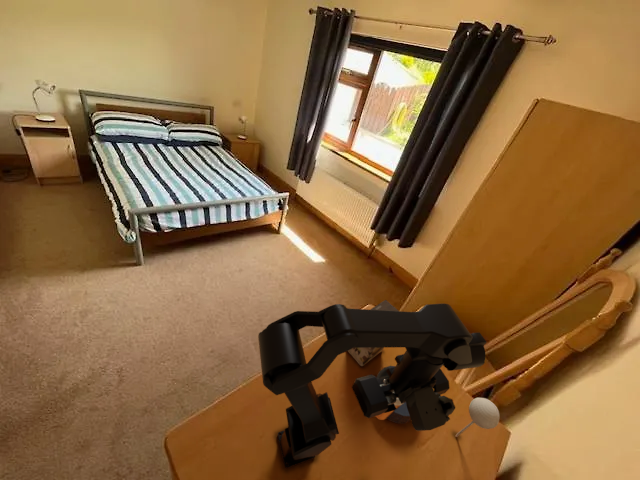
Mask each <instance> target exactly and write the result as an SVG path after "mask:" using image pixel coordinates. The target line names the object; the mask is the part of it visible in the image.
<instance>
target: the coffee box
mask: <svg viewBox="0 0 640 480" xmlns="http://www.w3.org/2000/svg"><path fill="white" fill-rule="evenodd" d="M369 310H384V311H399V309H398V308H396V307H395V306H394V305H392V304H391V303H390V301H388V300H387V299H385V300H383V301H381V302H380V303H378V304H377V305H375V306H374V307H372V308H370V309H369ZM384 348H385V347H382V348H352V349H350V350H348V351H347V352H348V353H349V355H350V356H351V357H352V358H353V359H354V360H355V361H356V362H357V364H358V365H359V366H360V367H363V366H365V365H366V364H368V363H369V362H370V361H371V360H373V359H374V358H375V357H376V356H378V355H379V354H380V353H381V352H382V351H383V350H384Z"/></svg>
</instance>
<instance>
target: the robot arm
mask: <svg viewBox="0 0 640 480" xmlns="http://www.w3.org/2000/svg"><path fill="white" fill-rule="evenodd" d="M307 327H316V328H323V330H324V334H325V338H326V340H324V342H323V343H322V344H321V346H320V347H319V348H318V349H317V350H316V352H315V353H314V354H313V356H312V357H311V358H310V359H309V361H308V362H307V359H306V356H305V350H304V345H303V342H302V338H301V334H300V330H302V329H304V328H307ZM257 339H258V348H259V359H260V366H261V367H260V368H261V377H262V385H263V387H265V388H266V389H267V390H269V392H271V393H273V394H274V395H275V396H279V395H283V394H284V395H285V396H286V398H287V400H288V402H289V403H290V405H291V406H288V407H286V408H285V413H286V421H287V427H285V428H284V430H281V431H278V432H277V434H276V435H277V440H278V444H279V448H280V453H281V457H282V462H283V466H284V468H286V469H289V468H292V467H293V466H297V465H299V464H302V463H305V462H308V461H311V460H313V459H315V458H316V456H319V455H320V454H322V452H324V451H325V450H326V449H329V447H330V446H332V441H335V440H336V437H337V435H339V434H340V432H339V427H338V424H337V420H336V416H335V413H334V408H333V405H332V401H331V398H330V397H329V393H328V392H327V391H326V392H323V393H317V391H316V389H315V387H314V385H313V383H312V382H315V381H316V380H319V379H320V378H321V377H322V376H323V375H324V374H325V373H326V371H327V370H328V369H329V367H331V365H332V363H333V362H334V361H335V360H336V358H337V357H338V356H340V355H342V354H344V353H346V352H348V350H350V349H352V348H382V347H384V348H405V351H404V353H402V354H398V355H396V356H395V357H394V361H395V363H396V365H394V366H395V367H391V368H388V370H387V373H388V375H389V377H390V378H389V379H385V380H383V382H382V380H381V378H378V379H377V378H376V375H373V374H367V375H365V376H361V377H357V378H355V380H354V381H353V383H352V386H351V389H352V392H353V394H354V396H355V398H356V401H357V403H358V406H359V408H360V410H361V412H362V414H363V416H364V417H365V418H367V419H371V418H374V417H376V416H377V415H380V414H382V413H387V412H390V411H393V410H396V407H395V405H394V403H395V402H396V398H399V400H400V402H401V404H402V403H405V402H406V405H407V409H408V412H409V415H410V418H411V420H412V421H411V425H412V428H413V429H414V430H415V431H416V432H424V431H432V430H434V429H437V428H440V427H442V426H445V425H446V424H447V422H449V421H450V420H451V418H450V415H452V414H453V413H454V411H455V410H456V406H455V403H454V400H453V399H452V398H450V397H447V396H445V395H444V394H446V393H447V392H448V391H449V390H450V387H451V386H450V381H449V379H448V377H447V376H446V375H445V373H444V372H443V370H442V369H441V368H442V367H444V368H445V369H446V370H447V371H448V372H453V371H460V370H468V369H474V368H480V367H482V366H483V365H484V364H486V363H485V361H486V349H485V345H486V344H487V343H488V341H487V340H486V338H485V337H484V336H483V335H482V333H481V332H479V331H478V332H470V331H469V329H468V328H467V326H466V325H465V324H464V322H463V321H462V320H461V318H460V317H459V315H458V314H457V312H456V311H455V310H454V308H453V307H452V306H451V305H450V304H448V303H433V304H432V303H430V304H429V303H427V304H425V305H424V306H423V307H422V308H420V309H419V310H417V311H401V310H400V311H399V310H398V311H384V310H370V309H367V308H366V309H364V308H348V307H347V306H346V305H344V304H341V303H337V304H336V303H335V304H332V305H329V306H327V307H325V308H323V309H321V310H319V311H311V310H310V311H309V310H308V311H307V310H296V311H293V312H291V313H289V314H287V315H285V316H283V317H281V318H279V319H277V320H275V321H273V322H270V323H269V324H268V325H267V326H266V328H264V329H263V330H262V331H260V332H258V336H257ZM383 383H384V384H383ZM393 392H394V393H393Z"/></svg>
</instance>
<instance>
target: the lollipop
mask: <svg viewBox="0 0 640 480" xmlns="http://www.w3.org/2000/svg"><path fill="white" fill-rule="evenodd" d="M468 414H469V417H470V419H471V421H470V422H469V423H468V424H467V425H465V426H464V427H463V428H462V429H461V430H460V431H458V432H457V433H456V434H455V435H454V436H455V437H456V438H458V437H459V436H460V435H461V434H463V433H464V432H465V431H467V429H469V428H470V427H471V426H472V425H474V424H475V425H476V426H478V427H479V428H481V429H484V430H485V429H486V430H492V429H495V428H496V427H498V425H499V423H500V420H501V419H500V416H501V415H500V411H499V409H498V407H497V406H496V404H495V403H494V402H492V400H490V399H489V398H486V397H475V398H474V399H472V400H471V401H470V404H469V406H468Z"/></svg>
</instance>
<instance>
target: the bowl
mask: <svg viewBox="0 0 640 480" xmlns="http://www.w3.org/2000/svg"><path fill="white" fill-rule="evenodd" d="M395 366H396V365H388V366H385V367H382V369H380V370H379V371H378V373H377V374H376V375H375V377H376V378H377V379H378V378H381V380H382V382H383V380H385V379H389V378H390V377H389V375H388V373H387V370H388V368H391V367H395ZM383 384H384V383H383ZM386 420H388V421H390V422H393V423H395V424H402V425H403V424H404V425H405V424H407V423H410V422H412V420H411V418H410V415H409V412H408V409H407V405H406V402H405V403H403V404H402V405H401V406H400V407H399V408H397V409H396V410H395V411H394V412H393V413H392V414H391V415H389V416H388V417H387V418H386Z"/></svg>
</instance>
